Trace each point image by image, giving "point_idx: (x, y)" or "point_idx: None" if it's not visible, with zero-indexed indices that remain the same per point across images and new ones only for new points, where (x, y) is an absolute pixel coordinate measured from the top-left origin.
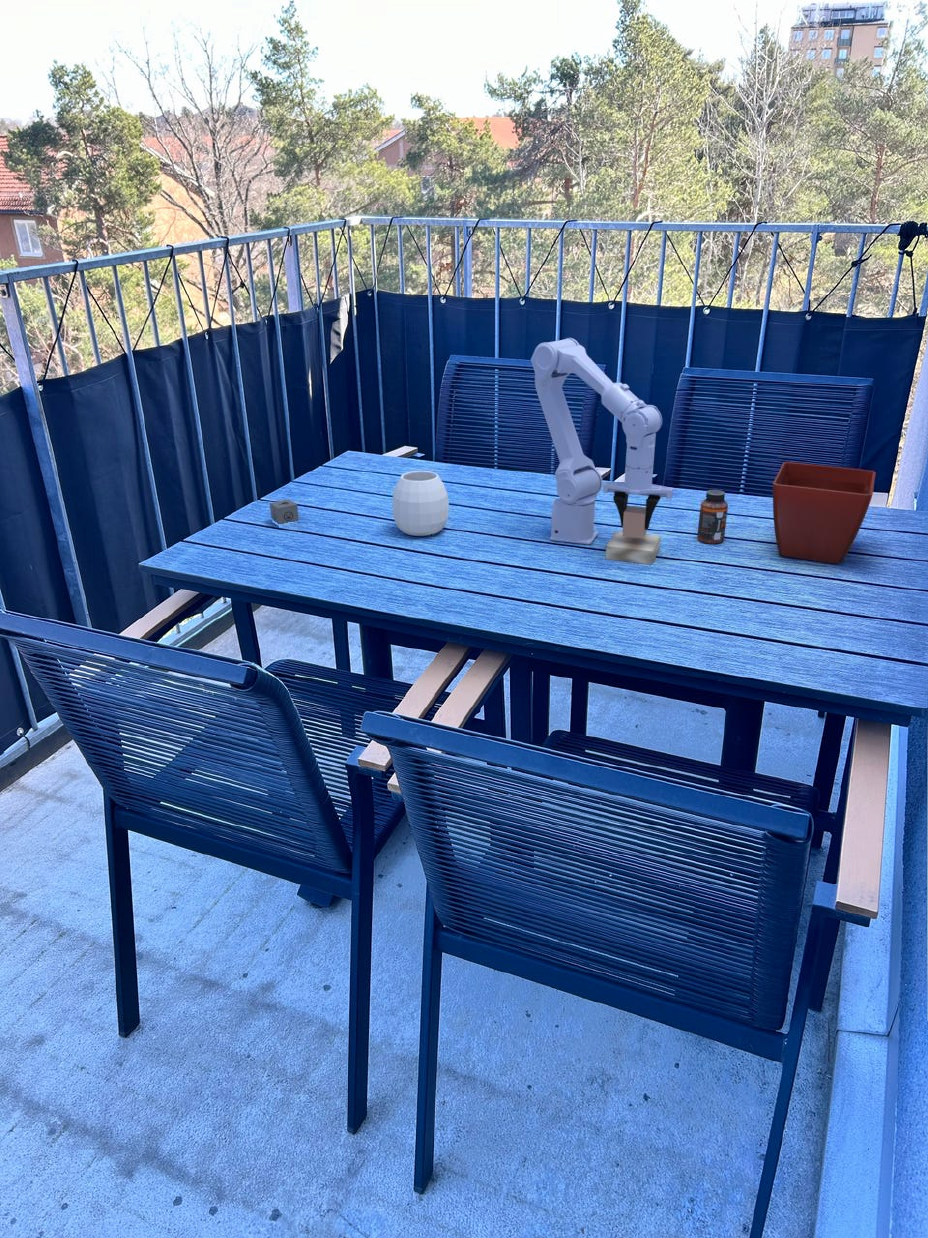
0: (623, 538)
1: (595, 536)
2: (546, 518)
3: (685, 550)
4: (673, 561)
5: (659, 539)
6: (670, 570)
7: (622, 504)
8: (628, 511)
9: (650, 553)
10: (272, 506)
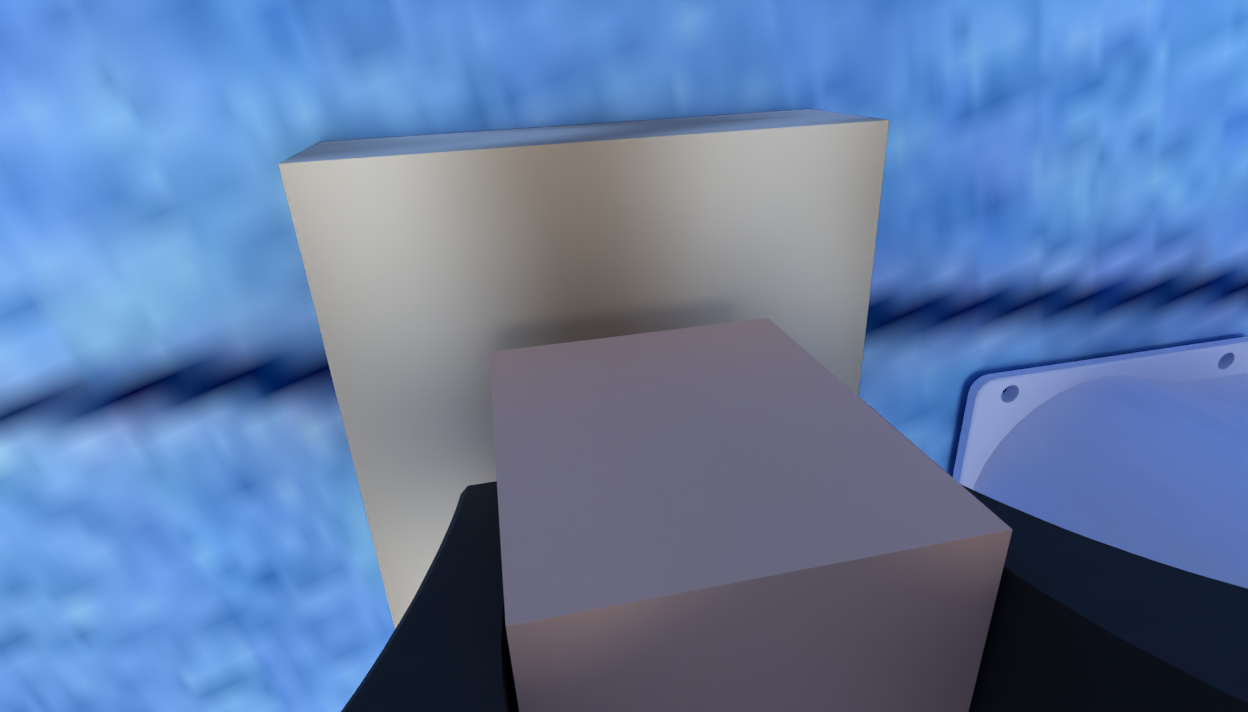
0: None
1: None
2: None
3: (179, 617)
4: (144, 325)
5: (387, 583)
6: (25, 31)
7: (1231, 664)
8: (913, 596)
9: (322, 157)
10: None
